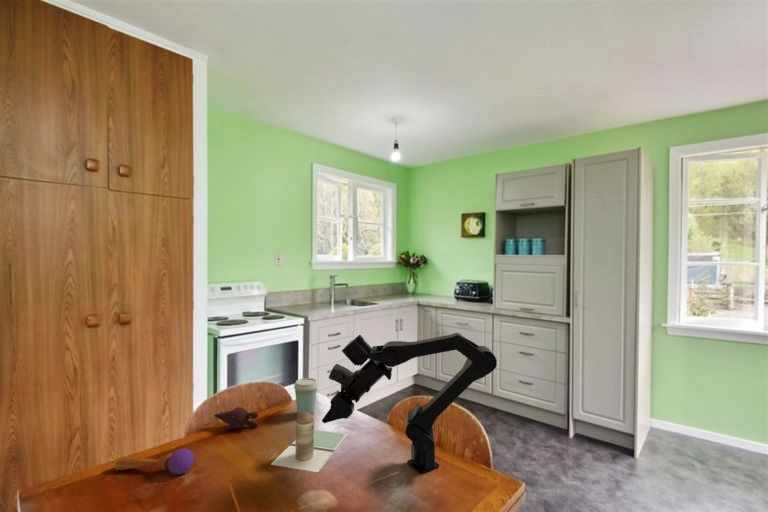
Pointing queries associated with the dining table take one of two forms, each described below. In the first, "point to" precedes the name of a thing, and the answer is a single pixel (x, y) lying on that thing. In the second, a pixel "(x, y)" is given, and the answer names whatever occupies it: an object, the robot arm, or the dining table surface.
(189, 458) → the kendama
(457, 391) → the robot arm
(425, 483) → the dining table surface
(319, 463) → the board
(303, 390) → the coffee cup
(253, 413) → the icecream
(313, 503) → the dining table surface
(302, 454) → the wooden pin
